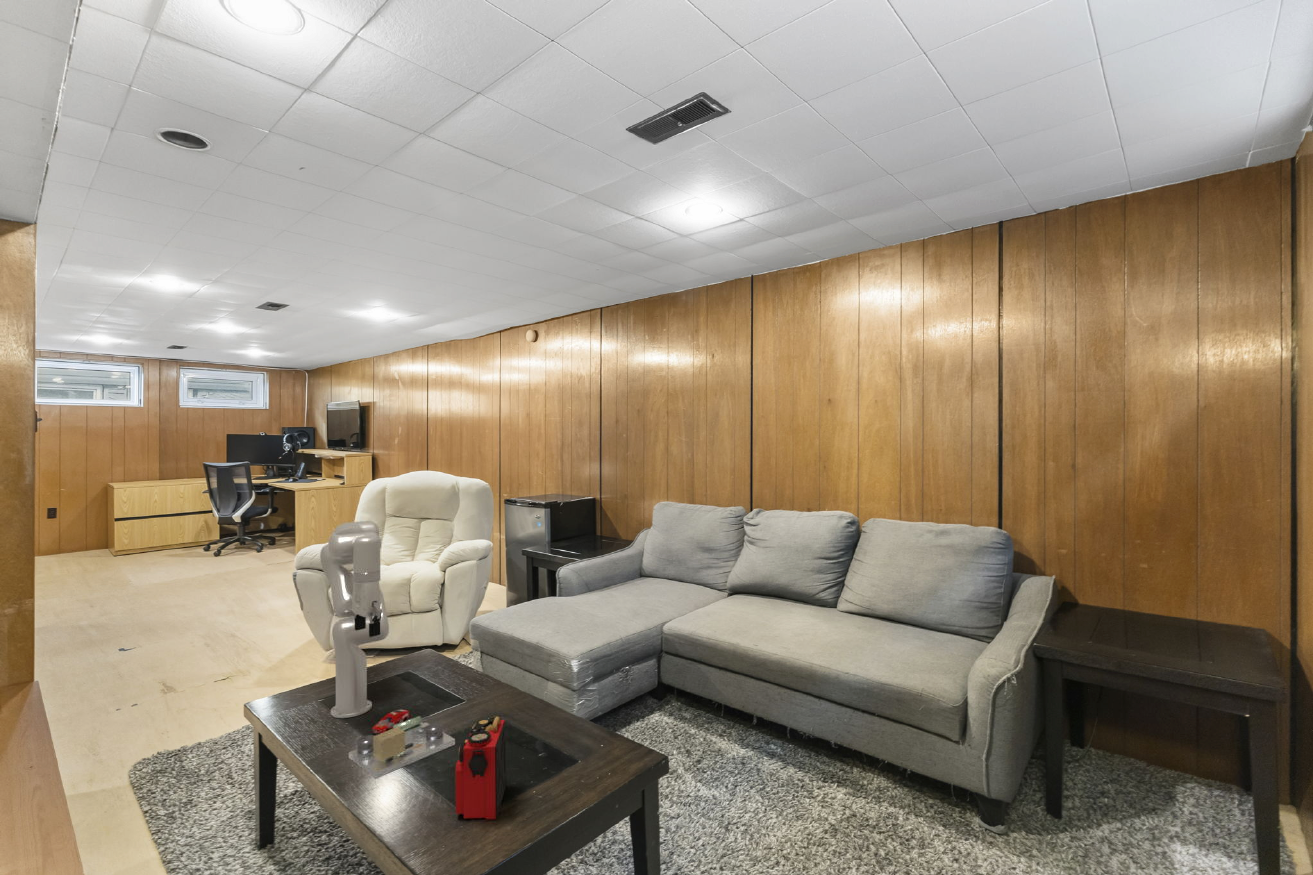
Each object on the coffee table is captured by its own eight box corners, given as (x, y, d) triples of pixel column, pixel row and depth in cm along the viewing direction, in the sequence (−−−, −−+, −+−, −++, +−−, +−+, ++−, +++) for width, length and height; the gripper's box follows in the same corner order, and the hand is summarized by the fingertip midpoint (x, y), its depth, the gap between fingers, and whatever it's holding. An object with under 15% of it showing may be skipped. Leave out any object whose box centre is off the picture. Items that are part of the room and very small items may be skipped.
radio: (468, 787, 160) (468, 711, 161) (507, 785, 161) (507, 710, 161) (453, 824, 145) (453, 741, 145) (497, 822, 146) (496, 739, 146)
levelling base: (348, 757, 176) (348, 736, 176) (426, 727, 194) (426, 708, 194) (375, 778, 165) (375, 756, 165) (455, 744, 183) (454, 724, 183)
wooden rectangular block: (381, 764, 168) (381, 741, 168) (373, 759, 171) (373, 736, 171) (416, 749, 177) (416, 726, 177) (408, 744, 179) (408, 722, 179)
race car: (382, 738, 188) (382, 725, 188) (368, 735, 190) (368, 722, 190) (412, 719, 201) (412, 707, 201) (399, 716, 202) (399, 704, 202)
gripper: (342, 575, 189) (342, 629, 189) (367, 583, 177) (367, 641, 177) (366, 570, 194) (367, 624, 194) (392, 578, 183) (392, 635, 183)
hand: (367, 632), depth 186 cm, fingers open, 9 cm apart
